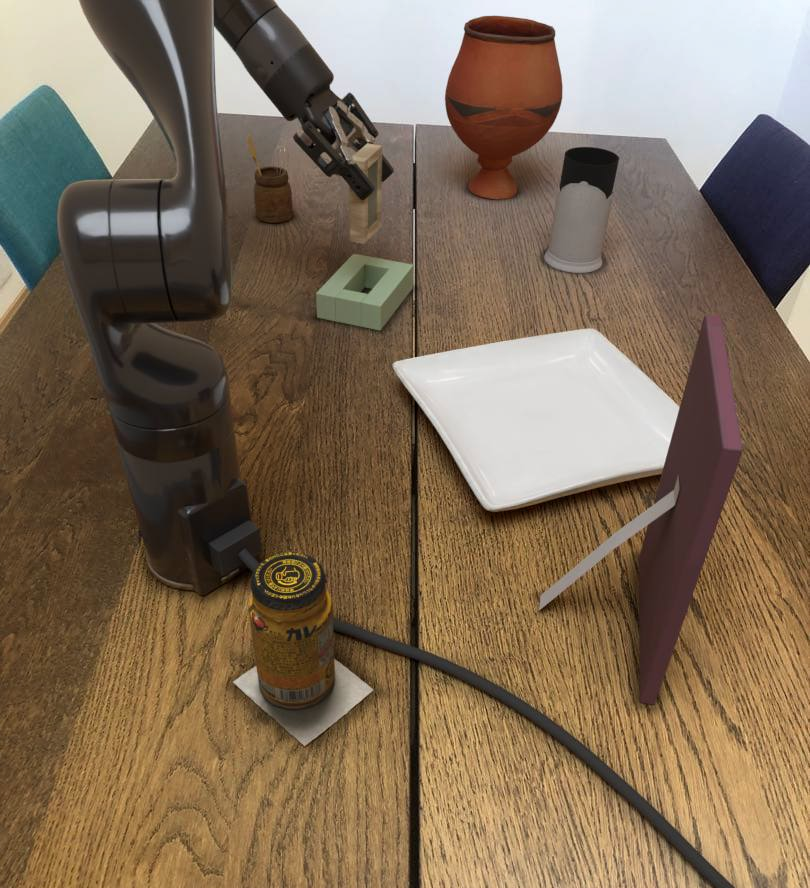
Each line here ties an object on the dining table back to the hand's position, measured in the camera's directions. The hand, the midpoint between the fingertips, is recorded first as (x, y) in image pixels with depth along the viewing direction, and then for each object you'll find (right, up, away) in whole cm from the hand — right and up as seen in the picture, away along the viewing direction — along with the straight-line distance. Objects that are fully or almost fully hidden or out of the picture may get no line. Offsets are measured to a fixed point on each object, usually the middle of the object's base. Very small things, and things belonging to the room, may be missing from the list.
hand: (378, 185), depth 100 cm
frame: (-2, -4, +5) cm, 7 cm away
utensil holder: (-18, +8, +31) cm, 37 cm away
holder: (-2, -11, +11) cm, 16 cm away
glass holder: (+30, 0, +25) cm, 39 cm away
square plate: (+19, -31, -9) cm, 38 cm away
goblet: (+19, +18, +43) cm, 50 cm away
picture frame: (+20, -50, -29) cm, 61 cm away
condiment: (-5, -55, -35) cm, 66 cm away
